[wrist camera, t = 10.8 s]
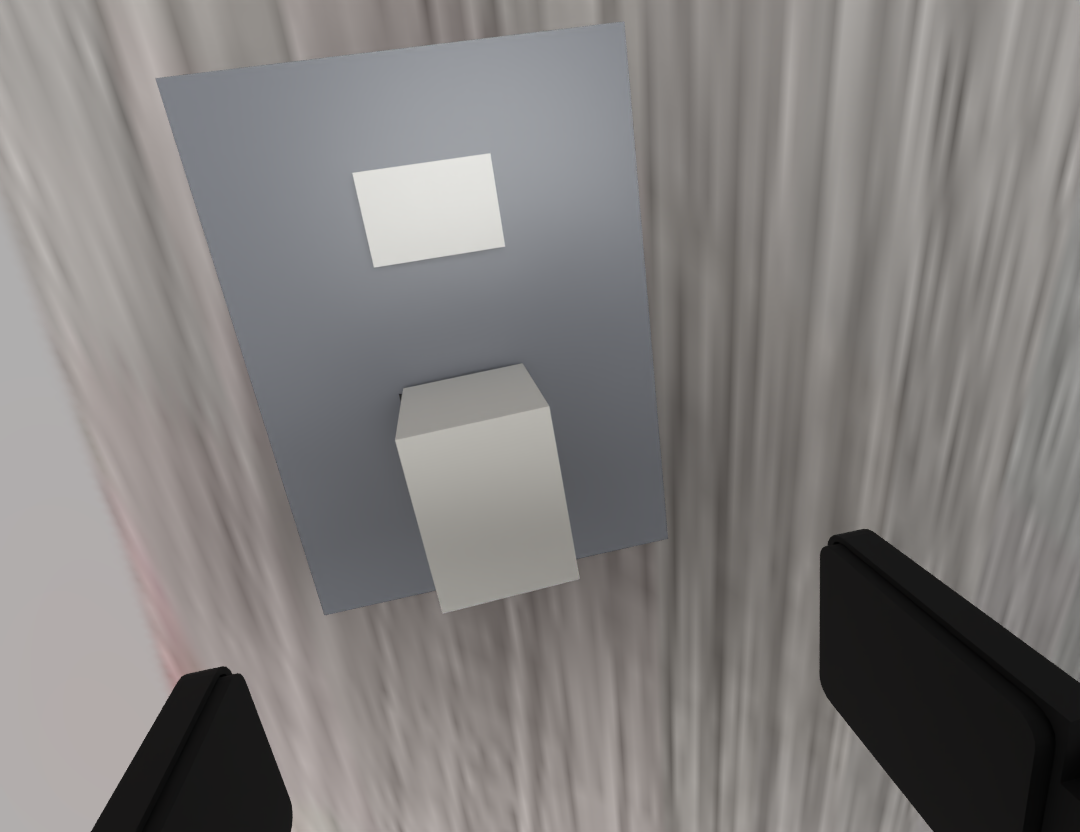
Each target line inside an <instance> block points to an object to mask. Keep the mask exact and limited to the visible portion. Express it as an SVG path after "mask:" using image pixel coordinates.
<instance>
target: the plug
mask: <svg viewBox="0 0 1080 832" xmlns="http://www.w3.org/2000/svg"><path fill="white" fill-rule="evenodd" d="M395 442H396V446H397V449H398V453H399V457H400V460H401V464H402V468H403V471H404V475H405V479H406V482H407V486H408V490H409V493H410V497H411V501H412V504H413V508H414V512H415V515H416V519H417V523H418V526H419V530H420V534H421V537H422V541H423V545H424V548H425V552H426V556H427V559H428V563H429V567H430V570H431V574H432V578H433V581H434V585H435V589H436V592H437V596H438V600H439V603H440V607H441V611H442V614H444V613H448V612H452V611H456V610H460V609H464V608H468V607H472V606H476V605H480V604H484V603H487V602H491V601H495V600H499V599H503V598H507V597H511V596H515V595H519V594H523V593H527V592H531V591H535V590H539V589H543V588H547V587H551V586H555V585H559V584H563V583H567V582H571V581H575V580H579V579H580V577H579V572H578V566H577V560H576V555H575V549H574V543H573V538H572V532H571V526H570V521H569V515H568V509H567V504H566V498H565V492H564V487H563V481H562V475H561V470H560V464H559V458H558V453H557V447H556V441H555V436H554V430H553V424H552V419H551V413H550V407H549V405H548V403H547V402H546V400H545V398H544V397H543V395H542V394H541V392H540V390H539V389H538V387H537V386H536V384H535V382H534V381H533V379H532V378H531V376H530V374H529V373H528V371H527V370H526V368H525V366H524V365H523V363H521V364H516V365H512V366H507V367H502V368H497V369H493V370H488V371H483V372H478V373H474V374H469V375H464V376H460V377H455V378H450V379H445V380H441V381H436V382H431V383H427V384H422V385H417V386H412V387H408V388H403V392H402V399H401V405H400V411H399V418H398V424H397V431H396V437H395Z"/></svg>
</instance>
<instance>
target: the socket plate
mask: <svg viewBox="0 0 1080 832" xmlns="http://www.w3.org/2000/svg"><path fill="white" fill-rule="evenodd" d="M156 82H157V85H158V88H159V91H160V94H161V97H162V101H163V104H164V107H165V110H166V113H167V117H168V120H169V123H170V126H171V129H172V132H173V136H174V139H175V142H176V145H177V148H178V151H179V155H180V158H181V161H182V164H183V167H184V171H185V174H186V177H187V180H188V183H189V186H190V190H191V193H192V196H193V199H194V202H195V205H196V209H197V212H198V215H199V218H200V221H201V225H202V228H203V231H204V234H205V237H206V240H207V244H208V247H209V250H210V253H211V256H212V259H213V263H214V266H215V269H216V272H217V275H218V279H219V282H220V285H221V288H222V291H223V294H224V298H225V301H226V304H227V307H228V310H229V313H230V317H231V320H232V323H233V326H234V329H235V333H236V336H237V339H238V342H239V345H240V348H241V352H242V355H243V358H244V361H245V364H246V367H247V371H248V374H249V377H250V380H251V383H252V387H253V390H254V393H255V396H256V399H257V402H258V406H259V409H260V412H261V415H262V418H263V421H264V425H265V428H266V431H267V434H268V437H269V441H270V444H271V447H272V450H273V453H274V456H275V460H276V463H277V466H278V469H279V472H280V475H281V479H282V482H283V485H284V488H285V491H286V495H287V498H288V501H289V504H290V507H291V510H292V514H293V517H294V520H295V523H296V526H297V529H298V533H299V536H300V539H301V542H302V545H303V549H304V552H305V555H306V558H307V561H308V564H309V568H310V571H311V574H312V577H313V580H314V583H315V587H316V590H317V593H318V596H319V599H320V603H321V606H322V609H323V612H324V615H328V614H333V613H337V612H341V611H346V610H350V609H355V608H359V607H364V606H368V605H373V604H377V603H382V602H386V601H391V600H395V599H400V598H404V597H409V596H413V595H418V594H422V593H427V592H431V591H436V589H435V585H434V581H433V578H432V574H431V570H430V567H429V563H428V559H427V556H426V552H425V548H424V545H423V541H422V537H421V534H420V530H419V526H418V523H417V519H416V515H415V512H414V508H413V504H412V501H411V497H410V493H409V490H408V486H407V482H406V479H405V475H404V471H403V468H402V464H401V460H400V457H399V453H398V449H397V446H396V442H395V437H396V431H397V424H398V418H399V411H400V405H401V399H402V392H403V388H408V387H412V386H417V385H422V384H427V383H431V382H436V381H441V380H445V379H450V378H455V377H460V376H464V375H469V374H474V373H478V372H483V371H488V370H493V369H497V368H502V367H507V366H512V365H516V364H521V363H523V365H524V366H525V368H526V370H527V371H528V373H529V374H530V376H531V378H532V379H533V381H534V382H535V384H536V386H537V387H538V389H539V390H540V392H541V394H542V395H543V397H544V398H545V400H546V402H547V403H548V405H549V407H550V413H551V419H552V424H553V430H554V436H555V441H556V447H557V453H558V458H559V464H560V470H561V475H562V481H563V487H564V492H565V498H566V504H567V509H568V515H569V521H570V526H571V532H572V538H573V543H574V549H575V555H576V559H579V558H583V557H588V556H592V555H597V554H601V553H606V552H610V551H615V550H619V549H624V548H628V547H633V546H637V545H642V544H646V543H651V542H655V541H660V540H664V539H668V533H667V521H666V509H665V498H664V486H663V474H662V462H661V450H660V438H659V427H658V415H657V403H656V391H655V379H654V367H653V356H652V344H651V332H650V320H649V308H648V296H647V284H646V273H645V261H644V249H643V237H642V225H641V213H640V202H639V190H638V178H637V166H636V154H635V142H634V131H633V119H632V107H631V95H630V83H629V71H628V60H627V48H626V36H625V24H624V22H616V23H608V24H600V25H591V26H583V27H575V28H567V29H558V30H550V31H542V32H534V33H525V34H517V35H509V36H501V37H492V38H484V39H476V40H468V41H459V42H451V43H443V44H435V45H426V46H418V47H410V48H402V49H393V50H385V51H377V52H369V53H360V54H352V55H344V56H336V57H327V58H319V59H311V60H303V61H294V62H286V63H278V64H270V65H261V66H253V67H245V68H237V69H228V70H220V71H212V72H204V73H195V74H187V75H179V76H171V77H162V78H156Z"/></svg>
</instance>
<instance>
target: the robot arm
mask: <svg viewBox="0 0 1080 832" xmlns="http://www.w3.org/2000/svg"><path fill="white" fill-rule="evenodd" d="M820 681H821V685H822V688H823V690H824V692H825V694H826V696H827V698H828V699H829V701H830V702H831V703H832V705H833V706H834V707H835V708H836V710H837V711H838V712H839V713H840V715H841V716H842V717H843V718H844V720H845V721H846V722H847V723H848V725H849V726H850V727H851V729H852V730H853V731H854V732H855V734H856V735H857V736H858V737H859V739H860V740H861V741H862V742H863V744H864V745H865V746H866V747H867V749H868V750H869V751H870V752H871V754H872V755H873V756H874V757H875V759H876V760H877V761H878V762H879V764H880V765H881V766H882V767H883V769H884V770H885V771H886V773H887V774H888V775H889V776H890V778H891V779H892V780H893V781H894V783H895V784H896V785H897V786H898V788H899V789H900V790H901V791H902V793H903V794H904V795H905V796H906V798H907V799H908V800H909V801H910V803H911V804H912V805H913V806H914V808H915V809H916V810H917V811H918V813H919V814H920V815H921V817H922V818H923V819H924V820H925V822H926V823H927V824H928V825H929V827H930V828H931V829H932V830H933V832H1080V683H1079V682H1078V681H1076V680H1075V679H1074V678H1072V677H1071V676H1070V675H1068V674H1067V673H1065V672H1064V671H1063V670H1061V669H1060V668H1059V667H1057V666H1056V665H1054V664H1053V663H1052V662H1050V661H1049V660H1048V659H1046V658H1045V657H1044V656H1042V655H1041V654H1039V653H1038V652H1037V651H1035V650H1034V649H1033V648H1031V647H1030V646H1029V645H1027V644H1026V643H1024V642H1023V641H1022V640H1020V639H1019V638H1018V637H1016V636H1015V635H1014V634H1012V633H1011V632H1009V631H1008V630H1007V629H1005V628H1004V627H1003V626H1001V625H1000V624H999V623H997V622H996V621H994V620H993V619H992V618H990V617H989V616H988V615H986V614H985V613H984V612H982V611H981V610H979V609H978V608H977V607H975V606H974V605H973V604H971V603H970V602H969V601H967V600H966V599H964V598H963V597H962V596H960V595H959V594H958V593H956V592H955V591H953V590H952V589H951V588H949V587H948V586H947V585H945V584H944V583H943V582H941V581H940V580H938V579H937V578H936V577H934V576H933V575H932V574H930V573H929V572H928V571H926V570H925V569H923V568H922V567H921V566H919V565H918V564H917V563H915V562H914V561H913V560H911V559H910V558H908V557H907V556H906V555H904V554H903V553H902V552H900V551H899V550H898V549H896V548H895V547H893V546H892V545H891V544H889V543H888V542H887V541H885V540H884V539H883V538H881V537H880V536H878V535H877V534H876V533H874V532H873V531H871V530H869V529H861V530H857V531H852V532H847V533H843V534H838V535H834V536H832V537H830V539H829V541H828V546H825V547H823V548H822V550H821V553H820ZM292 818H293V817H292V804H291V801H290V798H289V795H288V792H287V790H286V787H285V785H284V782H283V779H282V777H281V774H280V771H279V769H278V766H277V763H276V761H275V758H274V755H273V753H272V750H271V747H270V745H269V742H268V739H267V737H266V734H265V732H264V729H263V726H262V724H261V721H260V718H259V716H258V713H257V710H256V708H255V705H254V702H253V700H252V697H251V694H250V692H249V689H248V686H247V684H246V681H245V679H244V677H243V676H242V675H241V674H238V673H237V674H232V673H231V671H230V670H229V669H228V668H227V667H223V666H222V667H218V668H213V669H208V670H204V671H199V672H194V673H190V674H186V675H184V676H182V677H181V678H180V680H179V681H178V682H177V684H176V686H175V687H174V689H173V691H172V693H171V694H170V696H169V698H168V699H167V701H166V703H165V705H164V706H163V708H162V710H161V712H160V714H159V715H158V717H157V719H156V720H155V722H154V724H153V725H152V727H151V729H150V731H149V732H148V734H147V736H146V737H145V739H144V741H143V743H142V744H141V746H140V748H139V750H138V751H137V753H136V755H135V757H134V758H133V760H132V762H131V764H130V765H129V767H128V769H127V770H126V772H125V774H124V776H123V777H122V779H121V781H120V782H119V784H118V786H117V788H116V789H115V791H114V793H113V794H112V796H111V798H110V800H109V801H108V803H107V805H106V807H105V808H104V810H103V812H102V813H101V815H100V817H99V819H98V820H97V822H96V824H95V826H94V827H93V829H92V831H91V832H291V828H292Z"/></svg>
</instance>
